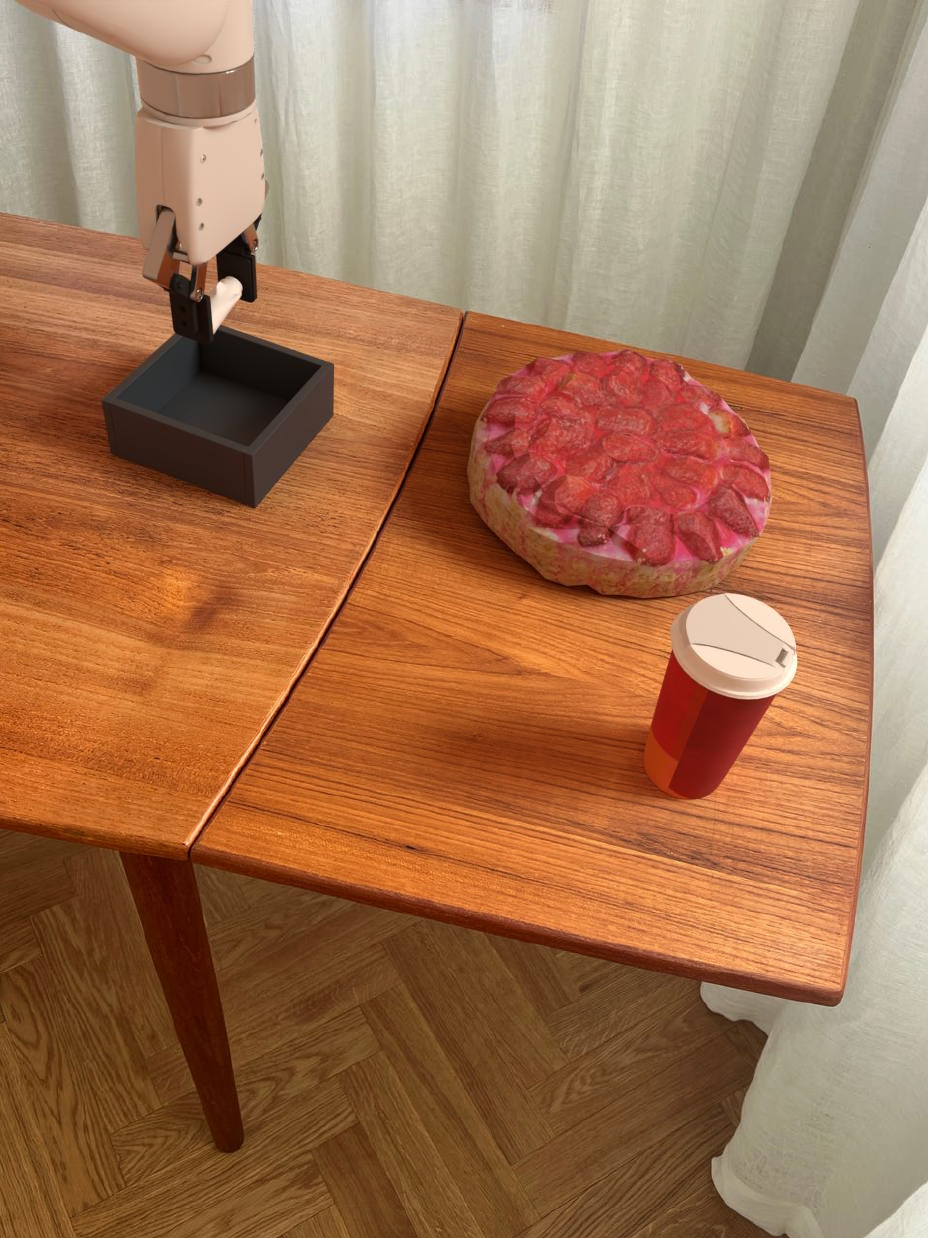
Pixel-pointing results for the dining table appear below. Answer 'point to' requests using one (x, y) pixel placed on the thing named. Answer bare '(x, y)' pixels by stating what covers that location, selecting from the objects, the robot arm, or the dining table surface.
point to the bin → (221, 412)
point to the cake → (619, 474)
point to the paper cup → (716, 690)
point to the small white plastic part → (223, 299)
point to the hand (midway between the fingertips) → (216, 314)
